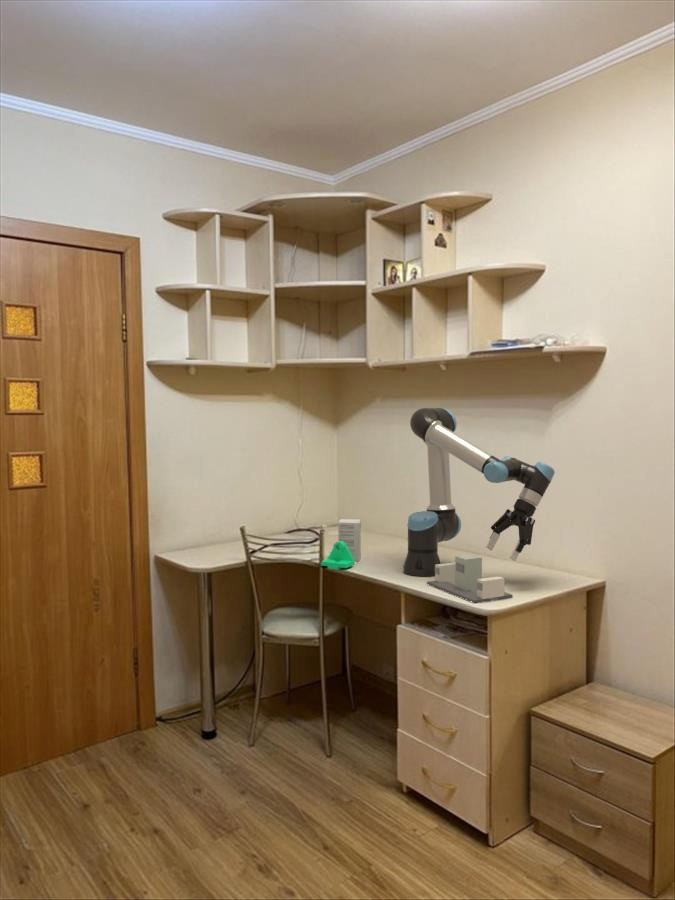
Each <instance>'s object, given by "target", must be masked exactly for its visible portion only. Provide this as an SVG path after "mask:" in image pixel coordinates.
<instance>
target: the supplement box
mask: <svg viewBox="0 0 675 900" xmlns="http://www.w3.org/2000/svg"><path fill="white" fill-rule="evenodd" d="M337 525H338V527H337V529H338V532H337V533H338V538H337V539H338V540H337V542H339V541H343V542H345V543H346V545H347V547H348V549H349V551H350V553H351V555H352V557H353V558H354V560H355V561H360V562H361V555H362V554H361V553H362V552H361V551H362V550H361V549H362V548H361V546H362V543H361V542H362V539H361V538H362V537H361V534H362V533H361V531H362V528H361V527H362V520H361V519H359V518H358V519H357V518H356V519H353V518H344V519H343V518H341V519H339V521H338V524H337ZM339 547H340V546H339Z"/></svg>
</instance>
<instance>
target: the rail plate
mask: <svg viewBox="0 0 675 900" xmlns="http://www.w3.org/2000/svg"><path fill="white" fill-rule="evenodd" d="M434 578H435V579H434V580H430V581H427V582H426V585H427V584H429V585H428V586H430V585H431V586H430V587H432V586H434V587H433V588H435V587H436V589H437V588H439V589H438V590H440V589H441V590H440V591H442V590H444V591H443V592H445V591H446V592H445V593H447V592H449V593H448V594H450V593H452V594H454V595H453V596H455V595H456V596H455V597H457V596H459V597H458V598H460V597H462V598H464V599H463V600H465V599H467V600H469V601H468V602H470V601H472V602H474V603H473V604H476V603H475V602H480V603H483V602H482V601H487V602H492V601H491V600H494V601H498V600H506V599H507V600H508V599H512V598H513V596H514V594H512V593H509V592H506V591H505V583H506V582H505V580H506V579H505V577H501V576H493V577H491V576H490V577H485V578H484V577H482V579H477V589H476V590H469V591H464V590H462V589H459V588H456V587H455V561H454V562H447V563H441V564H436V565H435V576H434ZM452 594H451V595H452ZM462 598H461V599H462ZM467 600H466V601H467ZM472 602H471V603H472Z"/></svg>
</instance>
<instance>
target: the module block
mask: <svg viewBox="0 0 675 900" xmlns="http://www.w3.org/2000/svg"><path fill="white" fill-rule="evenodd" d="M454 559H455V560H454V562H455V587H456V588H459V589H462V590H464V591H469V590H476V589H477V579H483V562H482V561H483V558H482V557H481V556H478V555H475V554H464V555H455V557H454Z"/></svg>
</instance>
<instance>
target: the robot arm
mask: <svg viewBox="0 0 675 900" xmlns="http://www.w3.org/2000/svg"><path fill="white" fill-rule="evenodd" d="M409 424H410V429H411V431H412V433H413V434H414V435H415V436H417V437H418V438H419V439H421V440H422V441H423V443H424V444H425V445H426V446H427V465H428V468H427V469H428V484H429V485H428V486H429V491H428V492H429V505H427V507H426V510H423V511H422V510H421V511H417V512H413V513H411V514H410V515H409V516H408V519H407V553H406V557H405V561H404V563H403V566H402V567H403V569H402V570H403V571H402V572H403V574H405V575H408V576H414V577H435V565H436V564H442V563H441V559H440V557H439V554H438V553H439V552H438V551H439V550H438V545H439V544H438V543H441V542H448V541H450V540H452V539H454V538H455V537H457V536H458V534H459V533H460V531H461V529H462V528H461V527H462V521H461V517H460V516H459V515H458V513H457V512H456V507H455V506H454V504H452V494H451V493H452V492H451V490H452V489H451V472H450V471H451V470H450V469H451V467H450V465H451V464H450V455H452V456H454V457H455V458H457V459H458V460H460V461H461V462H463V463H465V464H467V465H468V466H470V467H471V468H473V469H475V470H476V471H478V472H479V473H481V474H483V475H484V476H483V477H484V478H485V480H486V481H488V482H490V483H493V484H494V483H495V484H499V483H504V482H505V483H506V482H511V481H516V482H518V483H521V484H523V485H524V486H523V487H522V489H521V491H520V493H519V495H518V499H516V501H515V503H514V504H513V511H512V510H510V509H509V508H507V509H506V510H505V512H504V513H503V514H502V515H501V516H500V517H499V519H497V520H496V521H495V522H494V523H493V524H492V525H491V526H490V530H492V532H491V533H492V534H491V535H490V537H489V540H488V542H487V544H486V546H485V548H486V549H488V550H489V551H493V550H494V548H495V545H496V544H497V542H498V541H499V538H500V536H501V533H503V532H504V531H505V530H507V529H508V528H510V527H511V526H515V527H518V539H519V540H518V541H516V543H515V545H514V546H513V548H512V551H511V552H510V554H509V556H508V558H509V559H510V560H512V561H514V562H516V561H517V559H518V557H519V556H520V554H521V553H522V551H523V550H524V547H525V546H526V545H528V546H530V545H531V544H532V537H533V529H534V524H535V523H536V520H535V519H534V518H533V516H534V514H535V512H536V510H537V507H538V506H539V504H540V503H541V501H542V499H543V497H544V495H545V493H546V491H547V490H548V487H549V486H550V484H551V482H552V480H553V478H554V476H555V473H556V472H555V469H554V468H553V467H552V466H550V465H549V464H546V463H544V462H541V461H537V462H536V463H535V464H534V465H531V464H529V463H526V462H524V461H522V460H520V459H517V458H516V457H512V456H508V455H506V456H504V457H503V458H501V459H499V458H498V457H495V456H494V455H492V454H491V453H489V452H488V451H487V450H485V449H483V448H481V447H479V446H478V445H476V444H474V443H472V442H471V441H470V440H468V439H466V438H464V437H462V436H460V434H457V433H456V432H455V431H456V430H457V420H456V417H455V414H454V413H453V412H452V411H450V410H449V409H448V408H447V409H446V408H441V407H433V408H432V407H430V408H429V407H422V408H419V409H417V410H416V411H414V412H413V414H411V418H410V420H409Z"/></svg>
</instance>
